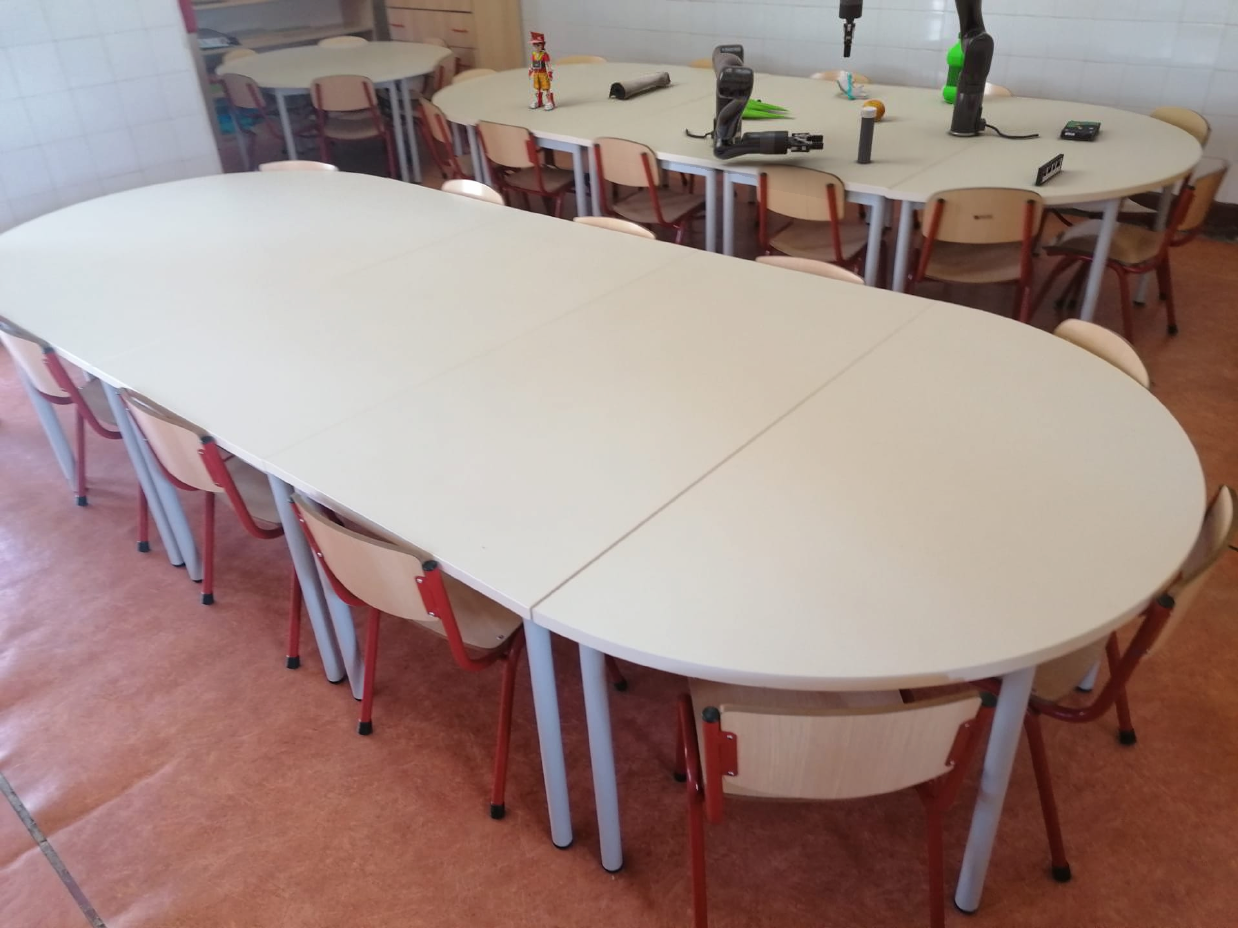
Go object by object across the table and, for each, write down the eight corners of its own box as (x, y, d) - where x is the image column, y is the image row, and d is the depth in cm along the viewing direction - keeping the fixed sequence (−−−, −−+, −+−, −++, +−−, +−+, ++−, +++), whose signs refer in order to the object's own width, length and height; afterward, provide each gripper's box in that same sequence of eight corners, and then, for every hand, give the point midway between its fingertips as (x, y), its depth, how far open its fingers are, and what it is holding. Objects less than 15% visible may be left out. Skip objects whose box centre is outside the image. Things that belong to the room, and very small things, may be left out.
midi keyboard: (1039, 185, 269) (1043, 168, 266) (1035, 184, 270) (1038, 168, 267) (1060, 170, 279) (1064, 154, 277) (1056, 169, 280) (1060, 153, 277)
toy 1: (525, 109, 381) (517, 32, 364) (534, 104, 388) (527, 28, 371) (550, 110, 377) (543, 32, 360) (559, 105, 384) (553, 28, 367)
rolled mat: (651, 76, 408) (662, 61, 399) (662, 93, 408) (674, 79, 400) (605, 92, 391) (616, 77, 383) (617, 110, 391) (628, 95, 383)
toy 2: (706, 117, 350) (777, 129, 338) (708, 103, 348) (779, 115, 335) (737, 106, 371) (804, 117, 358) (738, 93, 368) (807, 104, 355)
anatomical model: (832, 71, 373) (856, 64, 372) (834, 96, 379) (858, 90, 378) (842, 79, 360) (867, 72, 360) (845, 105, 366) (869, 98, 366)
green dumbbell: (973, 101, 354) (984, 32, 339) (955, 106, 349) (966, 36, 335) (952, 97, 361) (962, 29, 346) (934, 102, 356) (944, 33, 342)
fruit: (856, 112, 335) (869, 93, 332) (858, 116, 343) (871, 96, 340) (874, 125, 334) (888, 105, 331) (876, 128, 342) (889, 109, 339)
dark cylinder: (872, 162, 297) (878, 110, 288) (863, 164, 296) (868, 112, 286) (864, 159, 300) (869, 108, 291) (854, 161, 299) (859, 110, 289)
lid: (879, 116, 289) (880, 109, 287) (867, 119, 287) (868, 111, 285) (869, 113, 292) (869, 106, 291) (857, 116, 290) (858, 108, 289)
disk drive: (1092, 142, 302) (1099, 130, 312) (1094, 133, 301) (1101, 122, 311) (1059, 139, 307) (1067, 127, 317) (1061, 130, 305) (1069, 119, 316)
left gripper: (773, 137, 290) (824, 136, 288) (774, 125, 302) (823, 124, 299) (772, 160, 295) (822, 160, 292) (773, 148, 306) (821, 147, 303)
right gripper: (862, 5, 290) (857, 59, 299) (863, -2, 301) (858, 50, 310) (839, 5, 292) (834, 59, 301) (840, -1, 303) (836, 51, 312)
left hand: (823, 142), depth 296 cm, fingers open, 8 cm apart
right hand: (847, 55), depth 306 cm, fingers open, 8 cm apart
